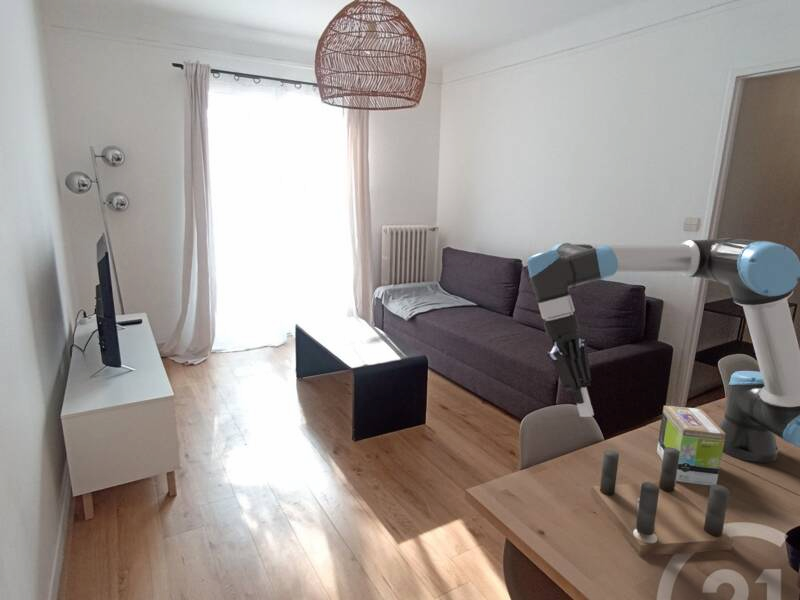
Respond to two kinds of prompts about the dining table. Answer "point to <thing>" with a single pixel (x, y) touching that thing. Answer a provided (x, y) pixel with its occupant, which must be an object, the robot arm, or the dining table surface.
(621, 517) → the stool seat
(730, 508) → the dining table surface
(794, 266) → the robot arm
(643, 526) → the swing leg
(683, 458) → the tea box
